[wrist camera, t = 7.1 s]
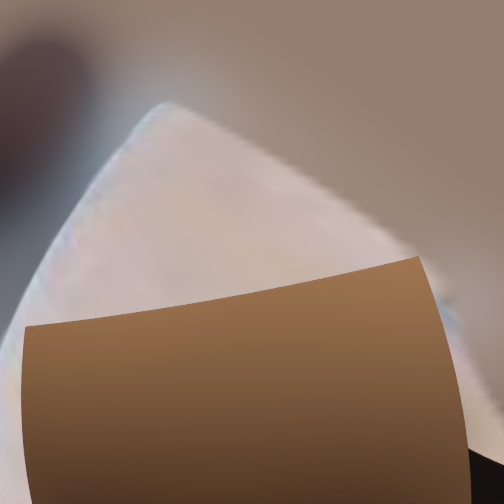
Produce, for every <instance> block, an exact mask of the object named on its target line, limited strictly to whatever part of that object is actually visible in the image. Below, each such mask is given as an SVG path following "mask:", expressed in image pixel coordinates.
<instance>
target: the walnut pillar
mask: <svg viewBox="0 0 504 504" xmlns="http://www.w3.org/2000/svg"><path fill="white" fill-rule="evenodd" d="M21 413H22V433H23V446H24V456H25V464H26V471H27V478H28V484H29V490H30V495H31V500H32V504H471V479H470V464H469V453H468V444H467V436H466V428H465V421H464V415H463V409H462V403H461V398H460V393H459V388H458V383H457V379H456V374H455V370H454V366H453V361H452V357H451V353H450V350H449V346H448V342H447V339H446V335H445V332H444V328H443V325H442V322H441V318H440V315H439V312H438V309H437V306H436V303H435V300H434V297H433V294H432V291H431V288H430V285H429V282H428V280H427V277H426V274H425V272H424V269H423V266H422V264H421V261H420V259H419V256H418V257H414V258H410V259H406V260H401V261H397V262H393V263H389V264H385V265H381V266H376V267H372V268H368V269H363V270H359V271H354V272H350V273H346V274H341V275H336V276H332V277H327V278H323V279H318V280H313V281H308V282H304V283H299V284H294V285H289V286H284V287H279V288H274V289H269V290H264V291H259V292H253V293H248V294H243V295H237V296H232V297H227V298H221V299H215V300H210V301H204V302H198V303H192V304H186V305H181V306H174V307H168V308H162V309H156V310H149V311H143V312H136V313H130V314H123V315H116V316H109V317H102V318H94V319H87V320H79V321H71V322H63V323H55V324H46V325H37V326H28V327H25V336H24V346H23V359H22V380H21Z"/></svg>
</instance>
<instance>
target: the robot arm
mask: <svg viewBox="0 0 504 504" xmlns="http://www.w3.org/2000/svg"><path fill="white" fill-rule="evenodd" d="M468 453H469V464H470V479H471V504H504V465H502V464H500V463H498V462H495V461H493V460H491V459H489V458H486V457H484V456H482V455H480V454H478V453H476V452H474V451H472V450H471V449H469V448H468Z"/></svg>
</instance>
